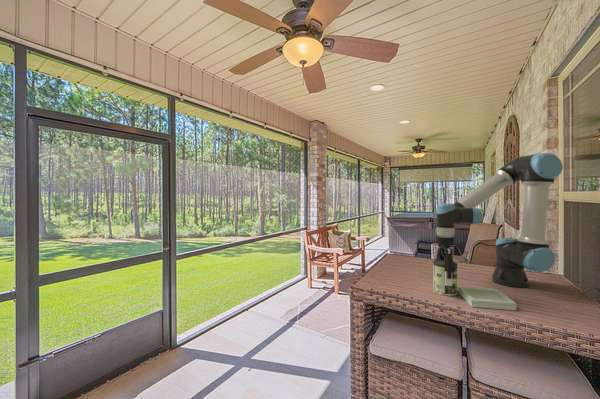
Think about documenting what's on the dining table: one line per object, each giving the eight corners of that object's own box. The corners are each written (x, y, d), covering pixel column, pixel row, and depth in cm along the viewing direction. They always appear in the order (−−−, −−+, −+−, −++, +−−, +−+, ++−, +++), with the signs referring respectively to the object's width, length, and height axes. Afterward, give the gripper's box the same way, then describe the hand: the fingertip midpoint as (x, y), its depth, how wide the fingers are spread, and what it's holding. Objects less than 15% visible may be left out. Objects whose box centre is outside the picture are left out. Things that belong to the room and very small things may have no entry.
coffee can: (457, 290, 132) (458, 261, 131) (456, 297, 123) (457, 266, 123) (434, 286, 137) (434, 258, 137) (431, 293, 129) (431, 263, 128)
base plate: (497, 295, 125) (497, 289, 125) (516, 310, 110) (516, 303, 109) (458, 292, 129) (458, 286, 129) (471, 306, 113) (471, 300, 113)
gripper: (430, 232, 142) (429, 272, 143) (443, 240, 118) (442, 289, 119) (446, 232, 141) (445, 273, 141) (463, 241, 116) (462, 290, 117)
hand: (444, 280), depth 130 cm, fingers open, 13 cm apart
